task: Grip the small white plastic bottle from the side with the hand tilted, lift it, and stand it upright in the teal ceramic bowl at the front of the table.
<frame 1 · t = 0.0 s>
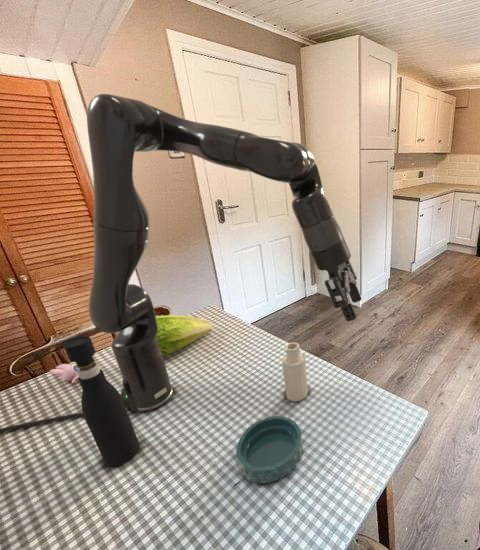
hand: (354, 309, 67), 31 cm above the table, tool tilted 20°, fingers open, 8 cm apart
black insulated flask: (123, 454, 68), on the table
white bottle: (297, 393, 86), on the table
lettuce: (182, 345, 108), on the table
dish: (271, 455, 68), on the table
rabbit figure: (77, 379, 91), on the table
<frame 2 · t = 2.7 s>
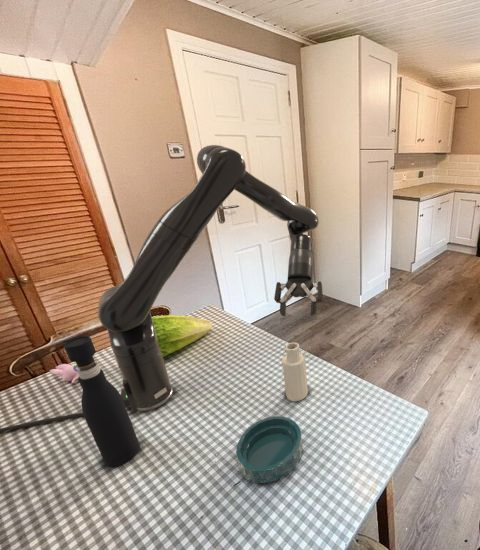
hand: (298, 315, 90), 19 cm above the table, tool tilted 45°, fingers open, 8 cm apart
nothing on the table moved.
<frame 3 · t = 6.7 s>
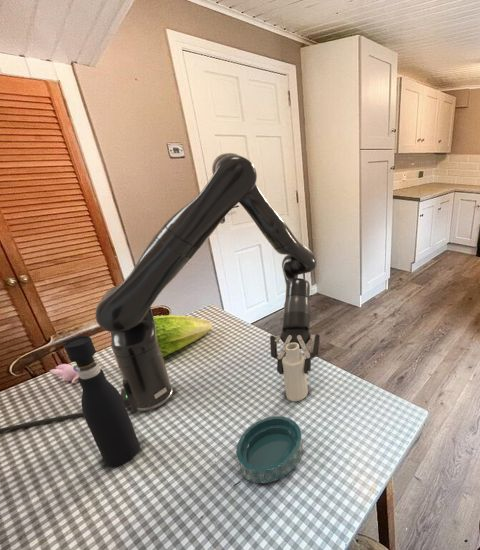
hand: (293, 373, 82), 8 cm above the table, tool tilted 45°, fingers closed on white bottle, 6 cm apart
white bottle: (297, 393, 86), on the table, touching gripper
everything else where it was.
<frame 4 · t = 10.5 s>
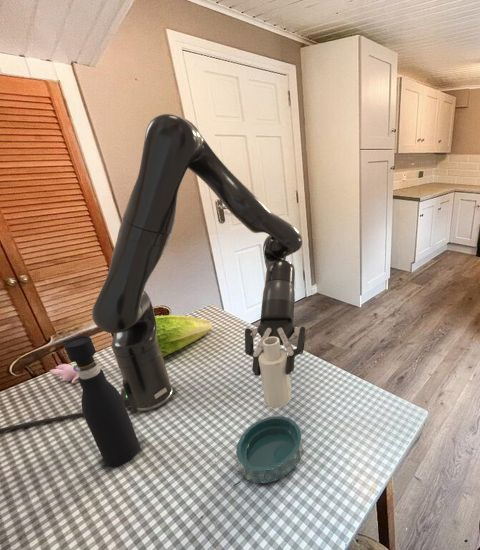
hand: (273, 374, 67), 18 cm above the table, tool tilted 45°, fingers closed on white bottle, 6 cm apart
white bottle: (278, 398, 71), point 10 cm above the table, touching gripper
everything else where it was.
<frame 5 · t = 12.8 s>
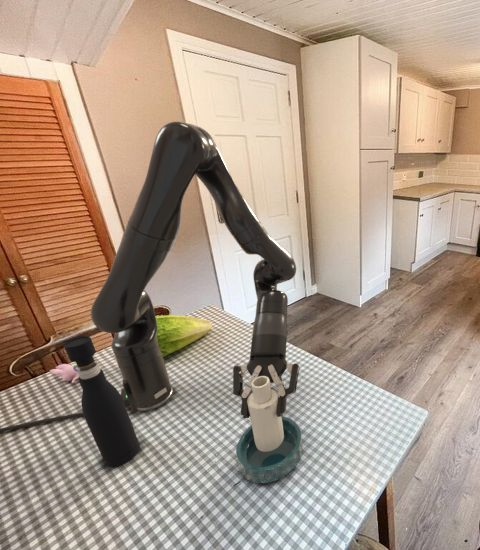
hand: (263, 417, 62), 13 cm above the table, tool tilted 45°, fingers closed on white bottle, 6 cm apart
white bottle: (269, 439, 67), point 5 cm above the table, touching gripper
everything else where it was.
when the fingers open (9 cm above the table, at t = 14.5 s): white bottle stays where it is, resting on dish.
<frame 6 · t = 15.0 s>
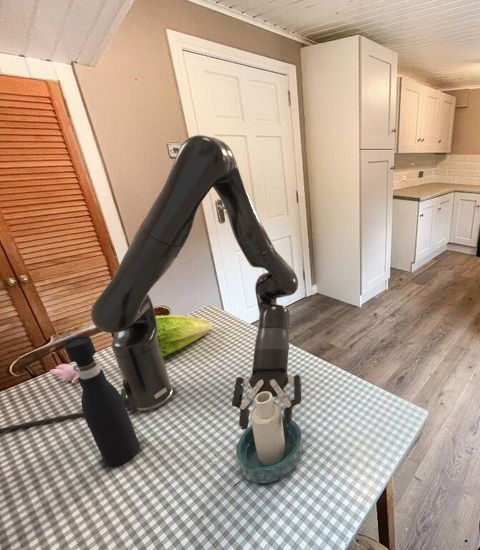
hand: (265, 428, 64), 10 cm above the table, tool tilted 45°, fingers open, 8 cm apart
white bottle: (271, 452, 68), point 1 cm above the table, touching dish
everything else where it was.
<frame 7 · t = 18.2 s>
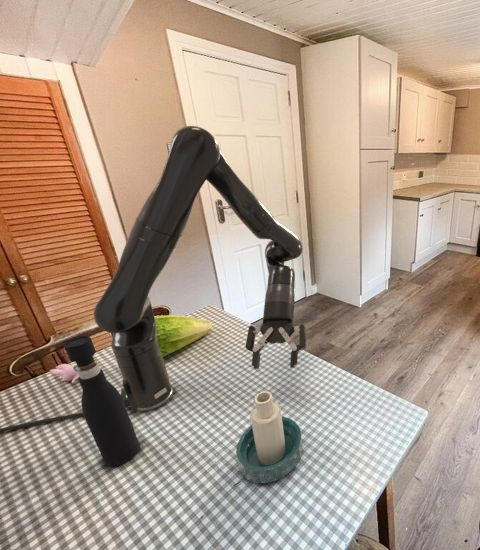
hand: (274, 368, 73), 15 cm above the table, tool tilted 45°, fingers open, 8 cm apart
nothing on the table moved.
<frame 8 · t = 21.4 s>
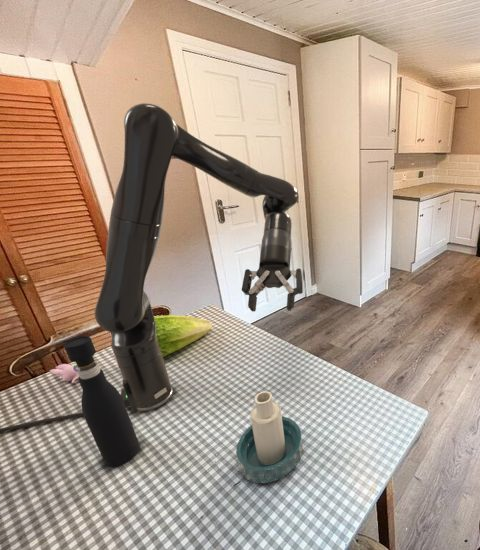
hand: (271, 310, 72), 29 cm above the table, tool tilted 45°, fingers open, 8 cm apart
nothing on the table moved.
at the end: white bottle 0.1 cm off-centre in the dish, point 0.8 cm above the dish's base; white bottle tilted 0°; the gripper is holding nothing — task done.
